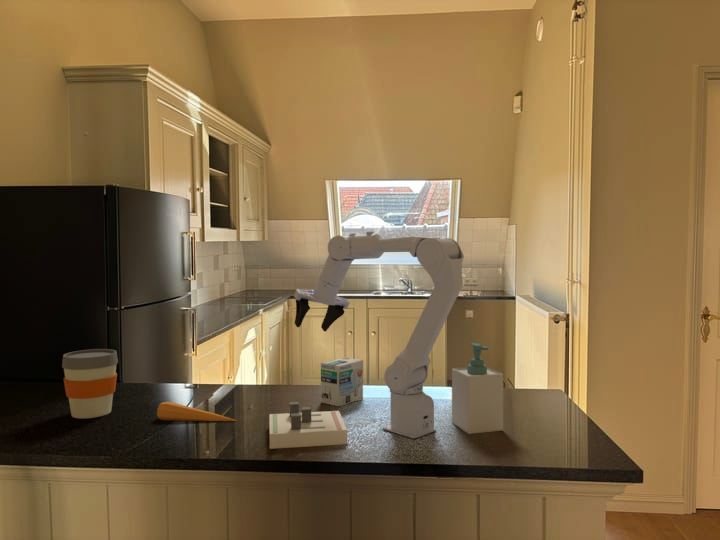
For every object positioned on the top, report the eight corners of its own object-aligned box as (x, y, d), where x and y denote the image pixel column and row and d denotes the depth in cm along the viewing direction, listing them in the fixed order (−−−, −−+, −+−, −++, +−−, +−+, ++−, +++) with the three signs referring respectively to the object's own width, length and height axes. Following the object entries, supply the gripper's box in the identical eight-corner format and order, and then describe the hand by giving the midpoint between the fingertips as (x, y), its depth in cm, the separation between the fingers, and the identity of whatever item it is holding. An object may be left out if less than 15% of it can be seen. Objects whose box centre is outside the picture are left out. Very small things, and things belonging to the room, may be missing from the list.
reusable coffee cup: (99, 403, 147) (97, 347, 147) (129, 410, 141) (128, 351, 140) (52, 415, 137) (50, 355, 136) (83, 423, 130) (81, 360, 130)
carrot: (155, 423, 133) (152, 408, 131) (163, 411, 137) (161, 396, 135) (235, 434, 131) (234, 419, 129) (241, 422, 135) (241, 407, 133)
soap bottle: (468, 434, 122) (468, 348, 121) (451, 422, 130) (451, 341, 129) (503, 431, 124) (504, 346, 123) (484, 419, 132) (485, 340, 132)
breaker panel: (338, 423, 130) (338, 398, 129) (347, 444, 116) (347, 415, 116) (269, 427, 127) (269, 401, 127) (269, 448, 113) (269, 419, 113)
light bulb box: (339, 407, 143) (339, 365, 143) (319, 403, 147) (319, 362, 147) (364, 398, 152) (364, 359, 151) (345, 394, 156) (344, 356, 155)
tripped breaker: (310, 418, 122) (310, 406, 122) (311, 421, 120) (311, 409, 120) (301, 418, 122) (301, 407, 122) (302, 421, 120) (302, 409, 120)
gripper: (349, 278, 143) (329, 322, 147) (299, 267, 135) (279, 314, 140) (359, 291, 137) (339, 337, 141) (308, 281, 130) (288, 329, 134)
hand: (310, 327), depth 140 cm, fingers open, 7 cm apart
